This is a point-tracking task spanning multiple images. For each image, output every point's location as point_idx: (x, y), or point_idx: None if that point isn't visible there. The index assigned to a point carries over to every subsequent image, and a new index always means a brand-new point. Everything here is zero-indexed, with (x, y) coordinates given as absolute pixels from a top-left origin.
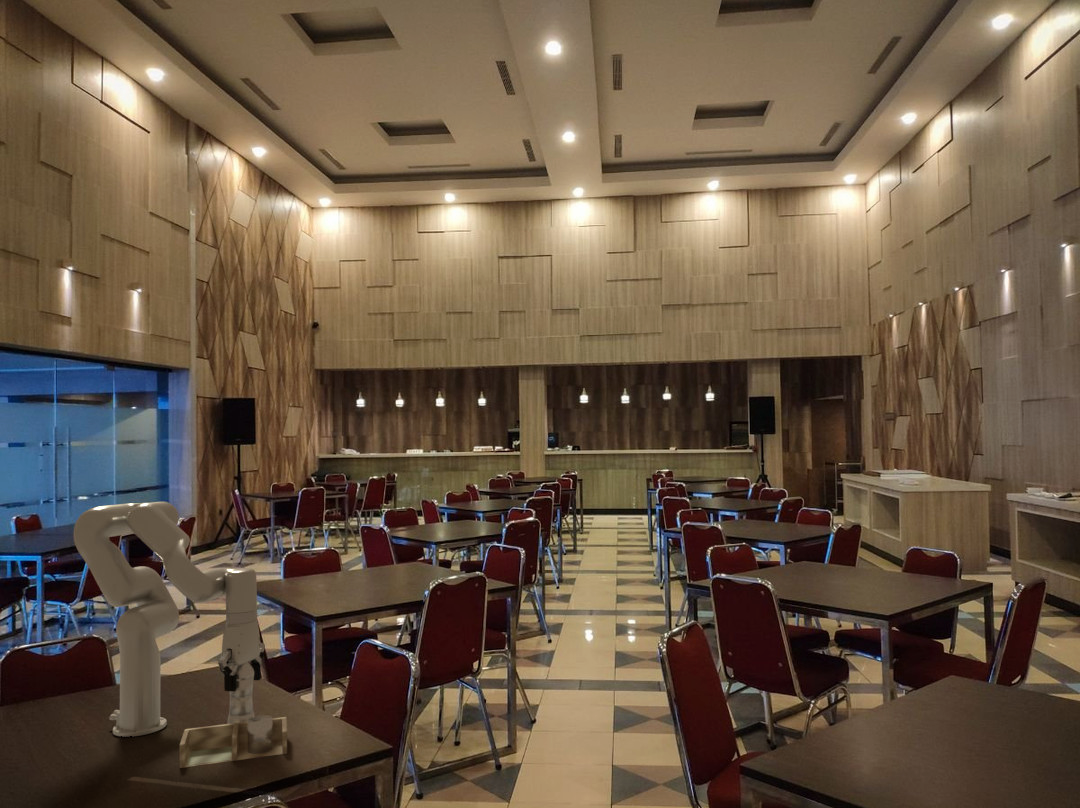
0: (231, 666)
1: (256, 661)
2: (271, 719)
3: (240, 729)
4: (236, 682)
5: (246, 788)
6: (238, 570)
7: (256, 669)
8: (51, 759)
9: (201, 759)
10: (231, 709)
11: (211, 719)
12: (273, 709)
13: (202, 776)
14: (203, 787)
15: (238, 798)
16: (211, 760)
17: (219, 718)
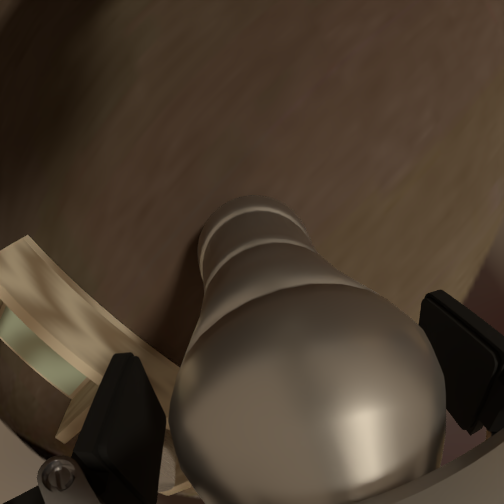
0: (249, 479)
1: (499, 428)
2: (158, 491)
3: None
4: (161, 459)
5: (56, 453)
6: None
7: (453, 400)
8: None
9: (25, 337)
10: (204, 271)
11: (317, 19)
12: (460, 171)
13: (14, 377)
14: (8, 403)
15: (38, 455)
16: (38, 362)
17: (338, 39)
